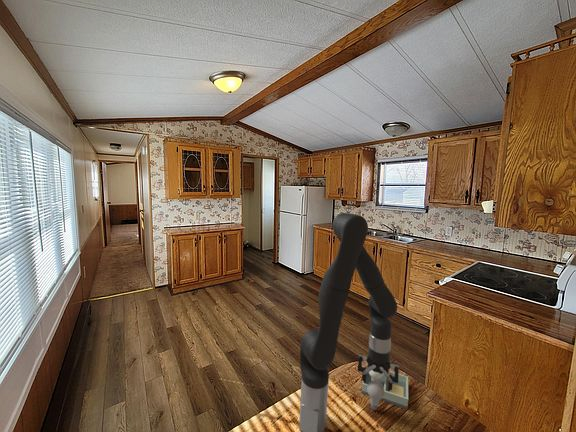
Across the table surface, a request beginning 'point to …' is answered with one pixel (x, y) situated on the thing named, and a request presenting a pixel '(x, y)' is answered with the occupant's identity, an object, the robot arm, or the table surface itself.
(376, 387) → the lightbulb
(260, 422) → the table surface
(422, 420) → the table surface
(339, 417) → the table surface
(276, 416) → the table surface
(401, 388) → the tray
